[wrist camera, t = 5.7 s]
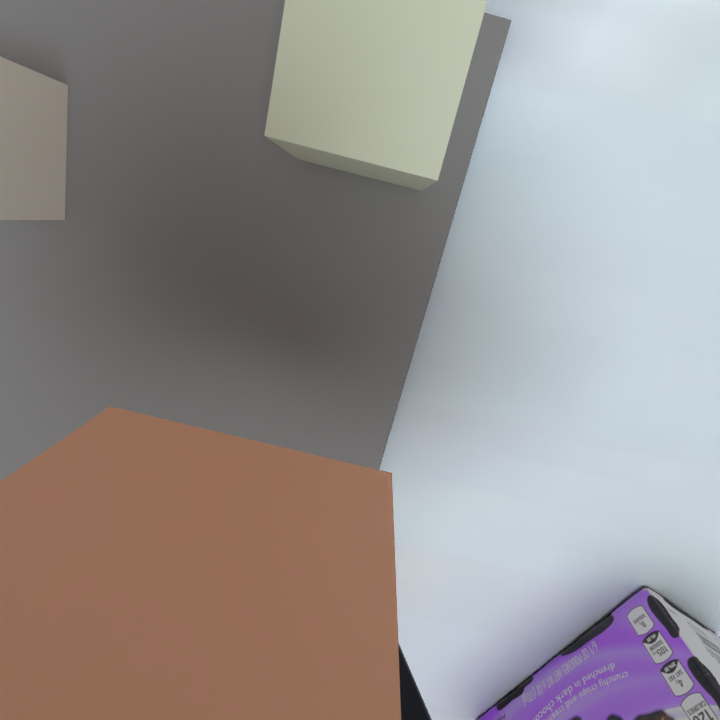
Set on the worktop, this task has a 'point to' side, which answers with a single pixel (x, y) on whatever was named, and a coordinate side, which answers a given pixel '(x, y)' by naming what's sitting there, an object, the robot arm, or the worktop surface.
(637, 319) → the worktop surface
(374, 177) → the sage block
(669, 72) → the worktop surface
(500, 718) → the candy box
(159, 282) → the slate mat
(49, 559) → the terracotta block
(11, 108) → the taupe block
